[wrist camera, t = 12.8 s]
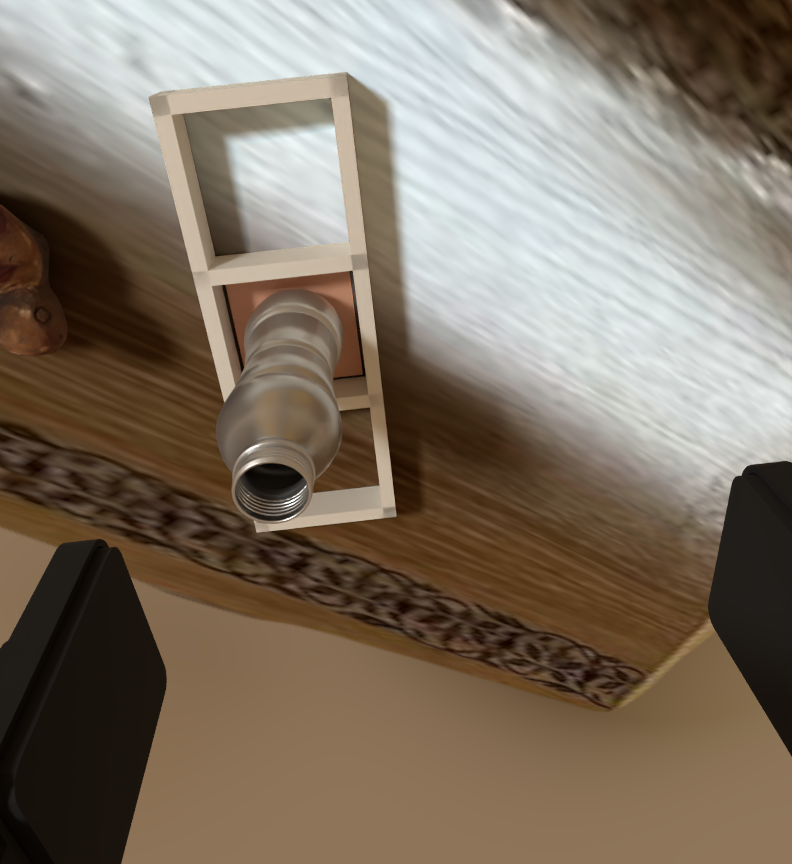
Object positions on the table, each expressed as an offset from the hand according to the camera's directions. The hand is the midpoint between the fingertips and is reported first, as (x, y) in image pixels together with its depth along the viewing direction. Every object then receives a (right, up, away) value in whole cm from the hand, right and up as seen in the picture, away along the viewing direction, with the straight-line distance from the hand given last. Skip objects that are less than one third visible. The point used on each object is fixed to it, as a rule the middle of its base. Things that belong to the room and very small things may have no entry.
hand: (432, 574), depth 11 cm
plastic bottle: (-8, +10, +38) cm, 40 cm away
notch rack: (-8, +10, +38) cm, 40 cm away
